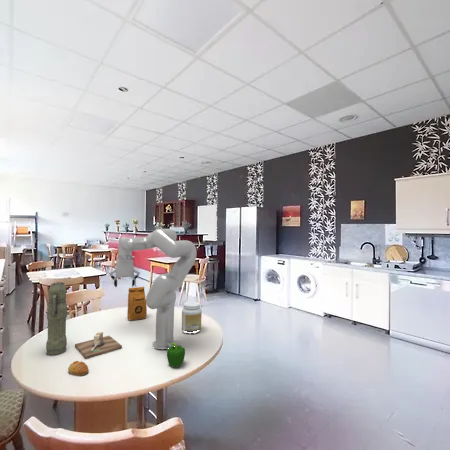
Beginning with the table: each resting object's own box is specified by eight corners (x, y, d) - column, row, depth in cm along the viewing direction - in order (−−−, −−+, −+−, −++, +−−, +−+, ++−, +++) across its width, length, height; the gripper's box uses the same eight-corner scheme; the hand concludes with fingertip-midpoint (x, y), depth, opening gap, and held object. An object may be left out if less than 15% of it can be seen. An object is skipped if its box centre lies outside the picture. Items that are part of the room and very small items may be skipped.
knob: (95, 342, 151) (95, 331, 151) (105, 341, 151) (106, 331, 151) (86, 351, 139) (86, 340, 139) (97, 351, 140) (97, 340, 140)
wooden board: (122, 348, 147) (122, 345, 147) (85, 359, 135) (85, 355, 135) (109, 338, 161) (109, 335, 161) (74, 346, 148) (74, 343, 148)
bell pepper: (188, 365, 131) (188, 344, 131) (173, 371, 126) (173, 349, 126) (178, 358, 137) (178, 338, 137) (163, 364, 132) (164, 343, 132)
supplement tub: (205, 331, 174) (205, 304, 174) (190, 336, 165) (190, 308, 165) (192, 326, 182) (193, 300, 182) (177, 331, 173) (178, 303, 173)
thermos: (67, 345, 150) (69, 280, 150) (64, 355, 139) (66, 285, 139) (48, 348, 146) (50, 281, 146) (43, 358, 135) (45, 286, 135)
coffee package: (147, 319, 193) (148, 287, 193) (128, 322, 187) (129, 289, 187) (144, 315, 202) (145, 285, 202) (126, 317, 196) (127, 286, 196)
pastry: (92, 372, 124) (93, 363, 124) (78, 379, 118) (78, 370, 118) (80, 366, 129) (80, 358, 129) (65, 372, 123) (65, 364, 123)
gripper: (140, 257, 173) (140, 284, 173) (110, 257, 169) (110, 285, 169) (139, 258, 166) (139, 287, 166) (108, 258, 162) (108, 288, 162)
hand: (124, 286), depth 167 cm, fingers open, 9 cm apart
